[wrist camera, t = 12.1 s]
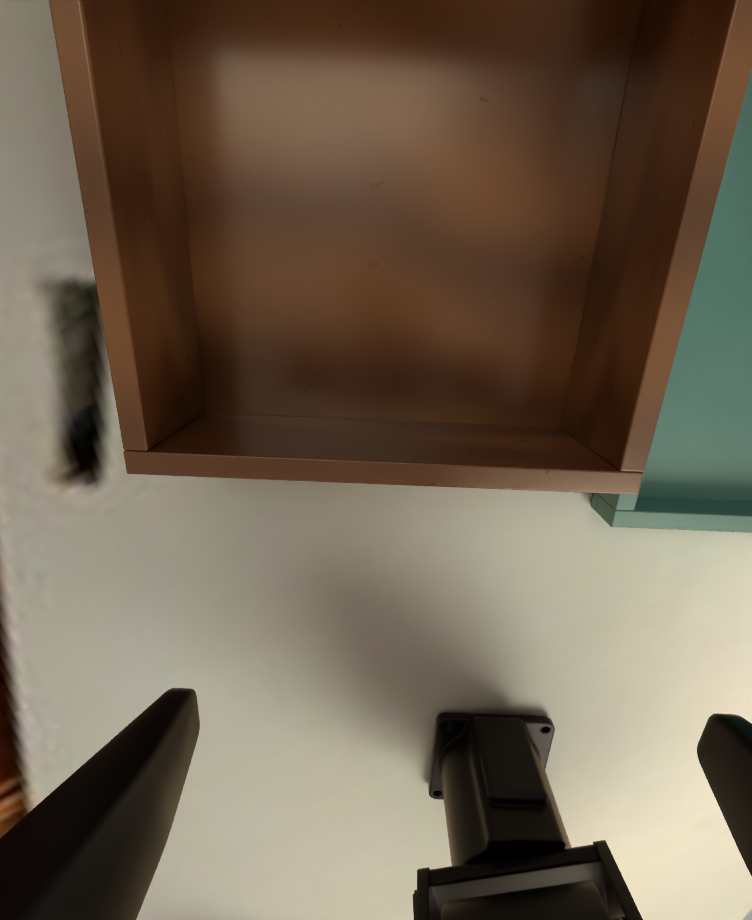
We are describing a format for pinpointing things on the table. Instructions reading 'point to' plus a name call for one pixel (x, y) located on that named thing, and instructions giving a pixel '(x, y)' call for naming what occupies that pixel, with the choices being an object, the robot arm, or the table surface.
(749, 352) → the tray
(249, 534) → the table surface
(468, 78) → the wooden box
